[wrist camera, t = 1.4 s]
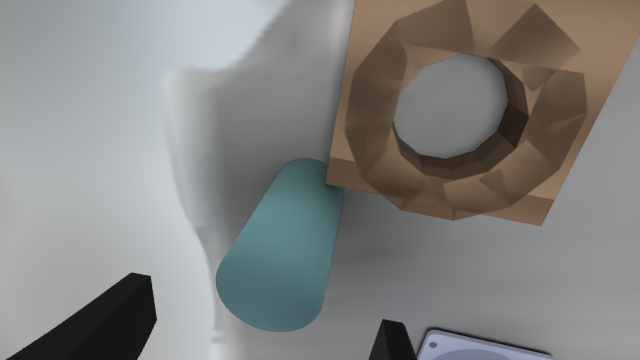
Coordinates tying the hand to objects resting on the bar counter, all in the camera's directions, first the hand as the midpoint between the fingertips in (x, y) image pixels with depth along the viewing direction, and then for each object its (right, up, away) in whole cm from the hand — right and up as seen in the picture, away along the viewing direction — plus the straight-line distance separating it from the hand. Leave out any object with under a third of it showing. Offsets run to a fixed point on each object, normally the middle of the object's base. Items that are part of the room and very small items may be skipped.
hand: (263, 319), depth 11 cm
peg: (+1, +4, +9) cm, 10 cm away
